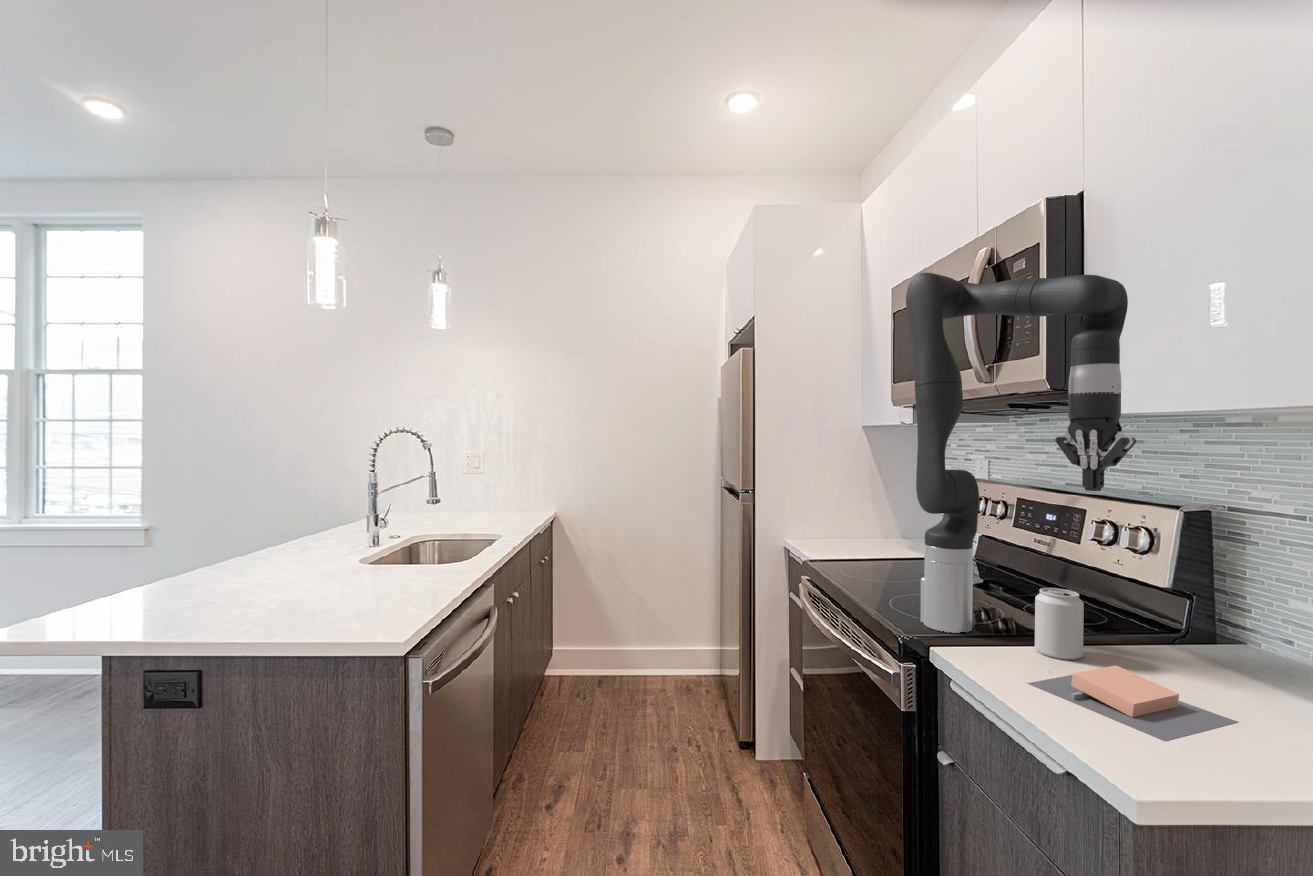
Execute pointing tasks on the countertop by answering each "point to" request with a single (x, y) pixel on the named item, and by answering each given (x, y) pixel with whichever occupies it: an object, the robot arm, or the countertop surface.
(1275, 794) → the countertop surface
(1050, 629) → the can
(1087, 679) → the tile
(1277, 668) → the countertop surface
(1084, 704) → the mat
